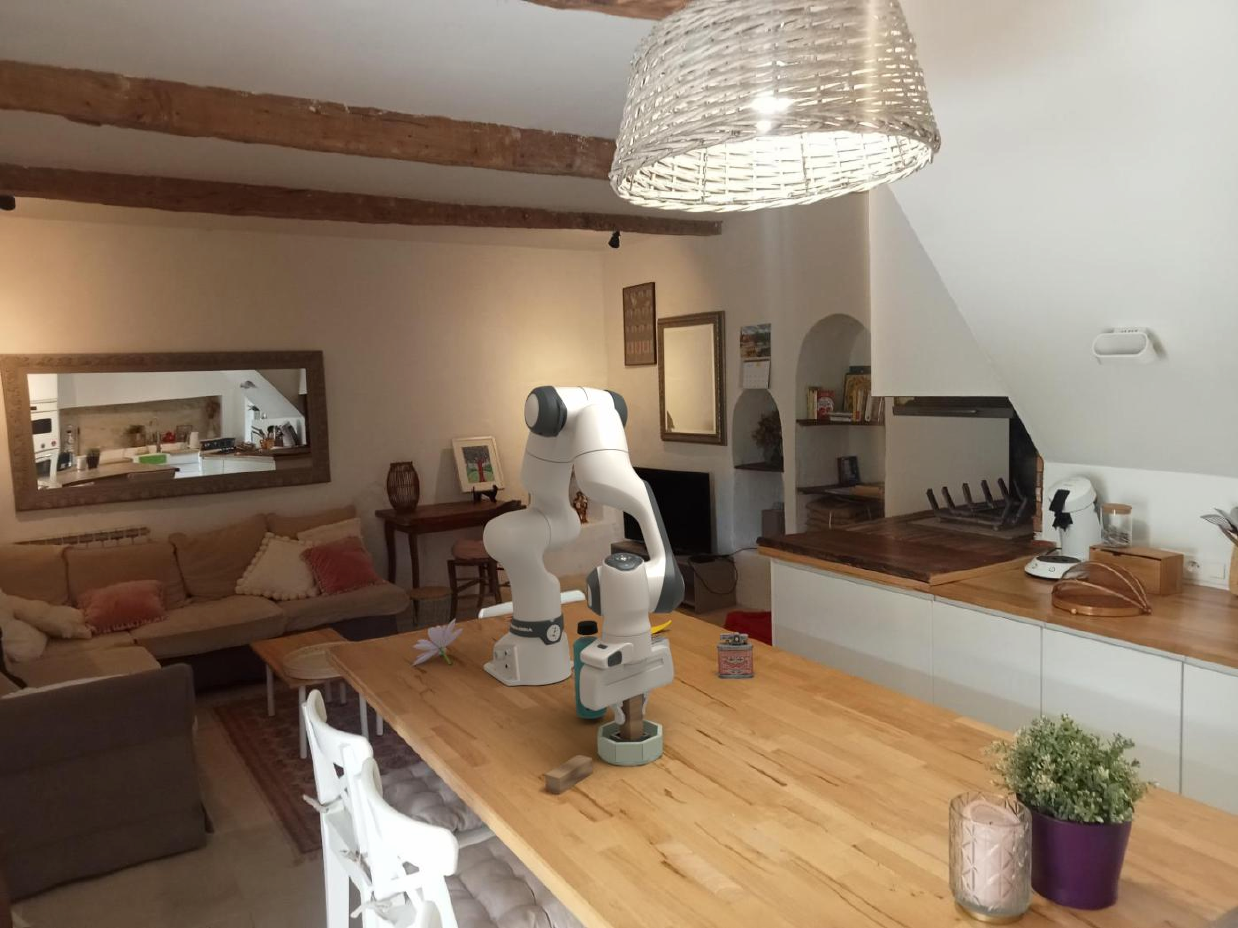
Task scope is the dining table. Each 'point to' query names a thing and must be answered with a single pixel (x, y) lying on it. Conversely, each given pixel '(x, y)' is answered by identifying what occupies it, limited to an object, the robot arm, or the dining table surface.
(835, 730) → the dining table surface
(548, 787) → the small wooden block
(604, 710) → the beverage bottle
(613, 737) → the wick clip
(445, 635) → the water lily
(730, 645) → the lighter
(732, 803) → the dining table surface
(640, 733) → the wooden post
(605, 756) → the faceted green bowl
